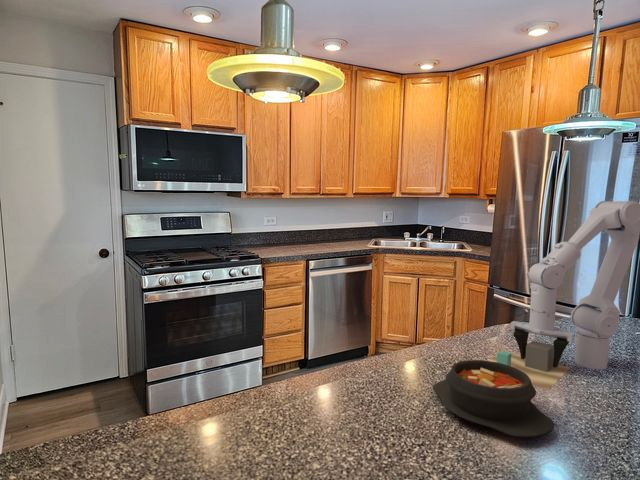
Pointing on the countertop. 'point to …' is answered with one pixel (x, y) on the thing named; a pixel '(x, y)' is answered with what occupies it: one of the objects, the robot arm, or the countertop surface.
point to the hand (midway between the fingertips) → (539, 362)
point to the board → (537, 372)
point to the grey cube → (539, 356)
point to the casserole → (493, 398)
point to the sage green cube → (504, 358)
